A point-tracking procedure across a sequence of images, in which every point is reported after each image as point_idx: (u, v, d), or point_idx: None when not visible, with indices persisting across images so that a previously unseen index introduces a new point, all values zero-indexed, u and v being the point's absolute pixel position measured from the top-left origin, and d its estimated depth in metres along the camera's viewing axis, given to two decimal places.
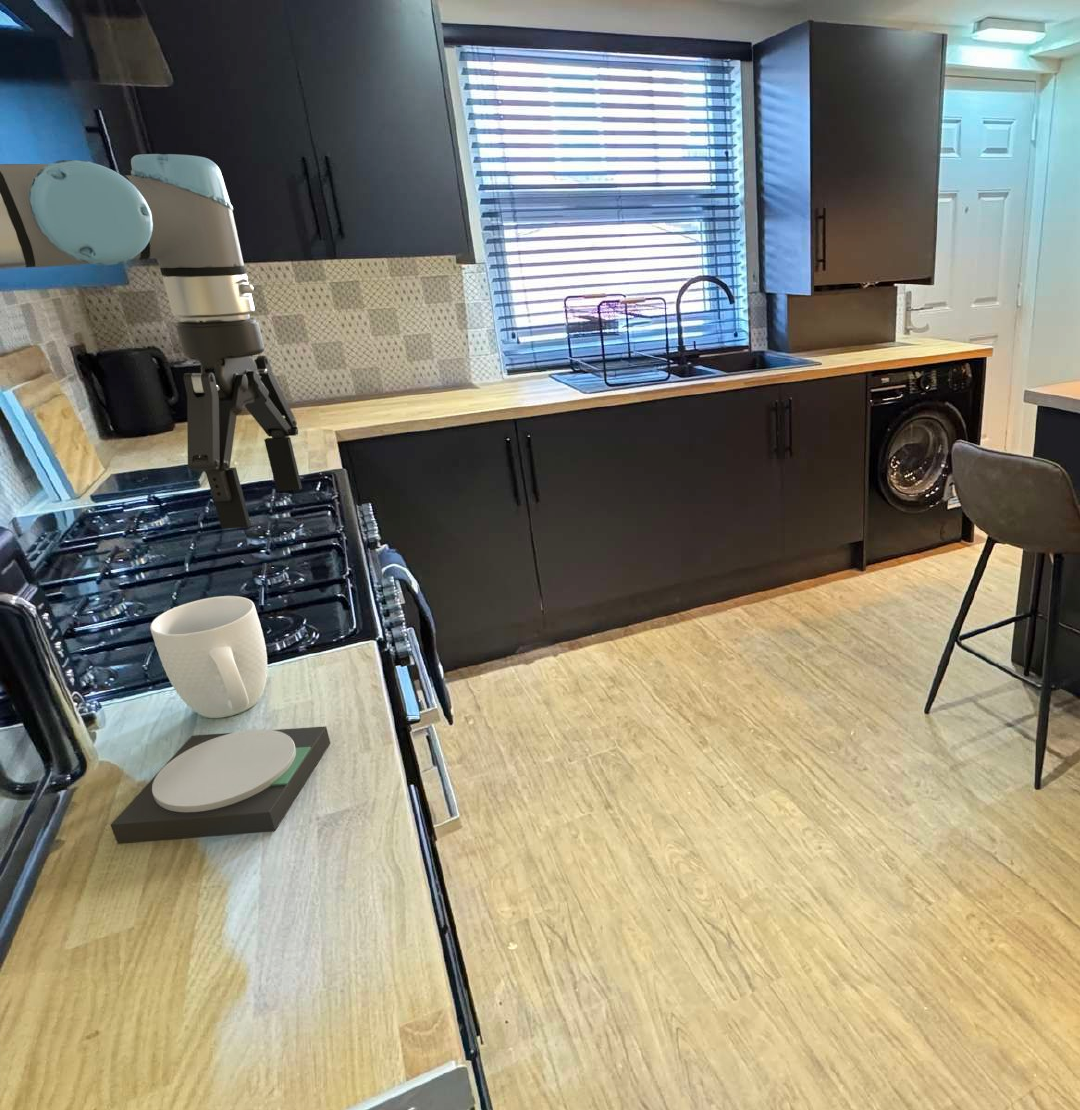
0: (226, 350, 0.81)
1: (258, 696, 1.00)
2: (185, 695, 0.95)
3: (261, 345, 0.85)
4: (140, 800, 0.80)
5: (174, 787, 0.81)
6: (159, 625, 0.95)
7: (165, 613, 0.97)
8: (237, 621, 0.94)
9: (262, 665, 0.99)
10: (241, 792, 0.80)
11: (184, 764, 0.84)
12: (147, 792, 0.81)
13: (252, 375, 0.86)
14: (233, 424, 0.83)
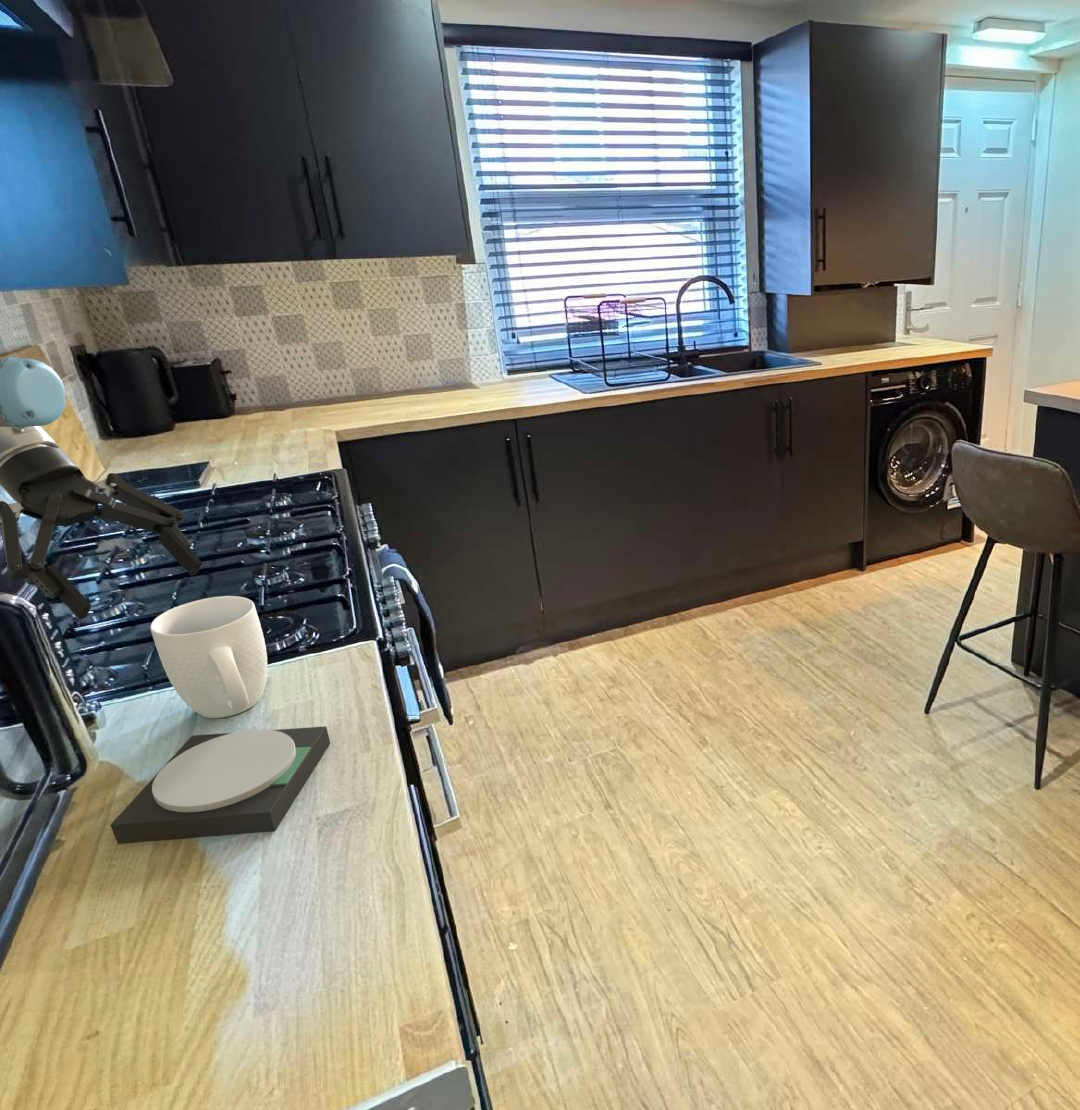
0: (17, 479, 0.94)
1: (258, 696, 1.00)
2: (185, 695, 0.95)
3: (53, 462, 0.96)
4: (140, 800, 0.80)
5: (174, 787, 0.81)
6: (159, 625, 0.95)
7: (165, 613, 0.97)
8: (237, 621, 0.94)
9: (262, 665, 0.99)
10: (241, 792, 0.80)
11: (184, 764, 0.84)
12: (147, 792, 0.81)
13: (73, 490, 0.97)
14: (48, 532, 0.93)
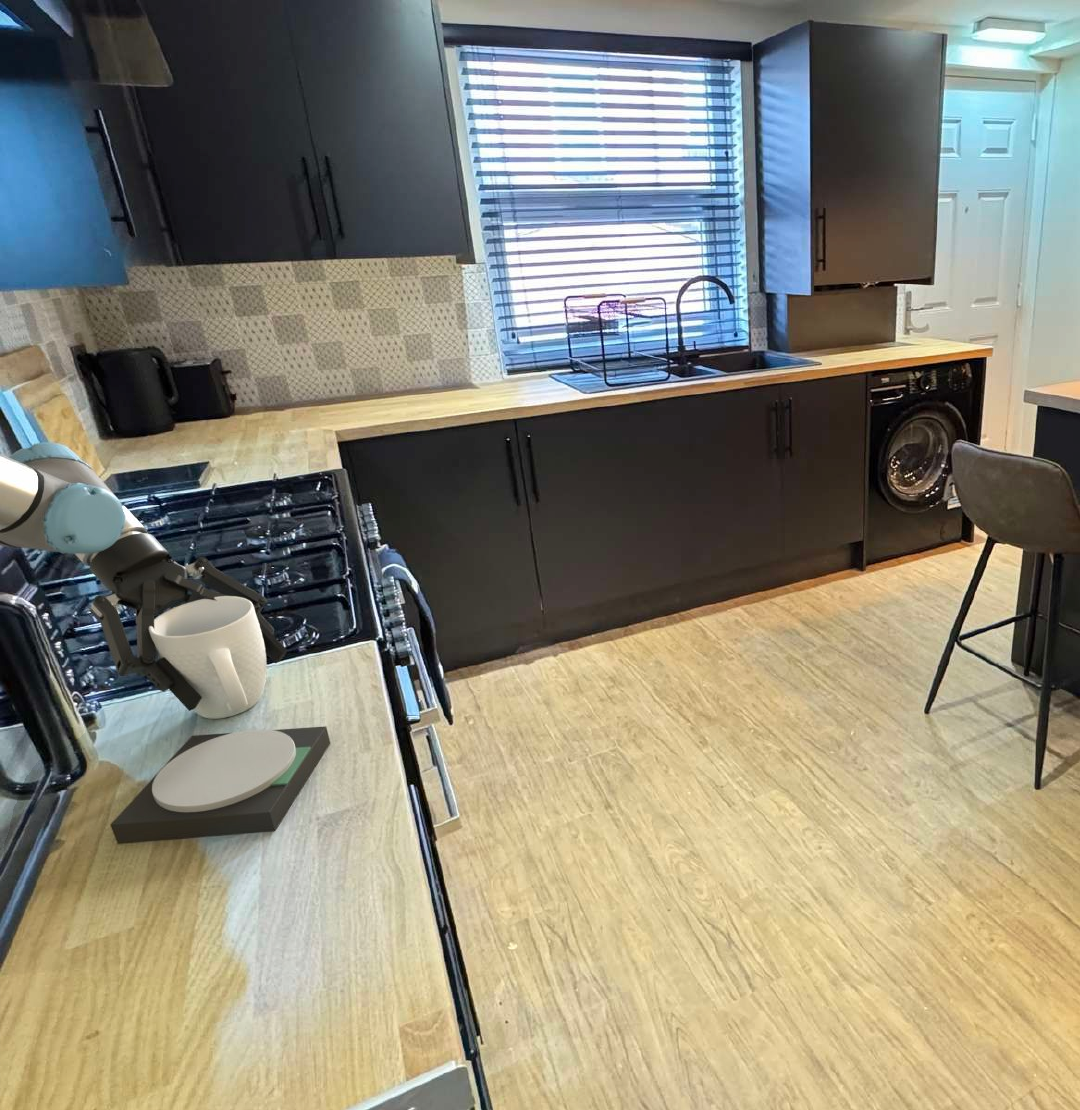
0: (111, 569, 0.93)
1: (257, 697, 1.00)
2: None
3: (146, 550, 0.95)
4: (140, 800, 0.80)
5: (174, 787, 0.81)
6: (158, 626, 0.95)
7: (164, 614, 0.96)
8: (235, 623, 0.94)
9: (261, 666, 0.99)
10: (241, 792, 0.80)
11: (184, 764, 0.84)
12: (147, 792, 0.81)
13: (164, 576, 0.97)
14: (150, 623, 0.93)
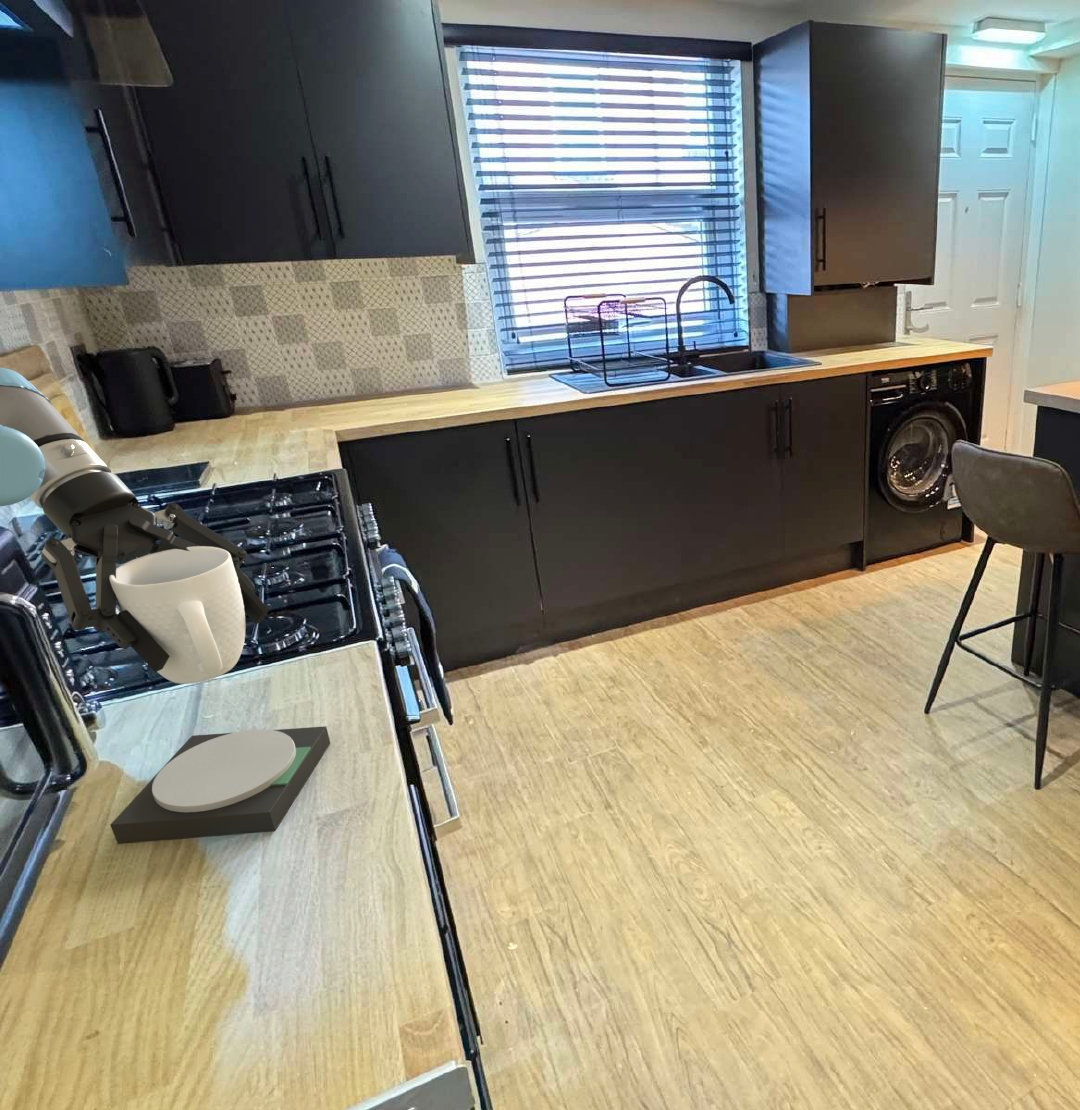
0: (67, 510, 0.82)
1: (234, 660, 0.88)
2: None
3: (109, 489, 0.84)
4: (140, 800, 0.80)
5: (174, 787, 0.81)
6: (121, 575, 0.83)
7: (128, 563, 0.85)
8: (210, 572, 0.82)
9: (239, 625, 0.87)
10: (241, 792, 0.80)
11: (184, 764, 0.84)
12: (147, 792, 0.81)
13: (129, 521, 0.85)
14: (111, 571, 0.82)
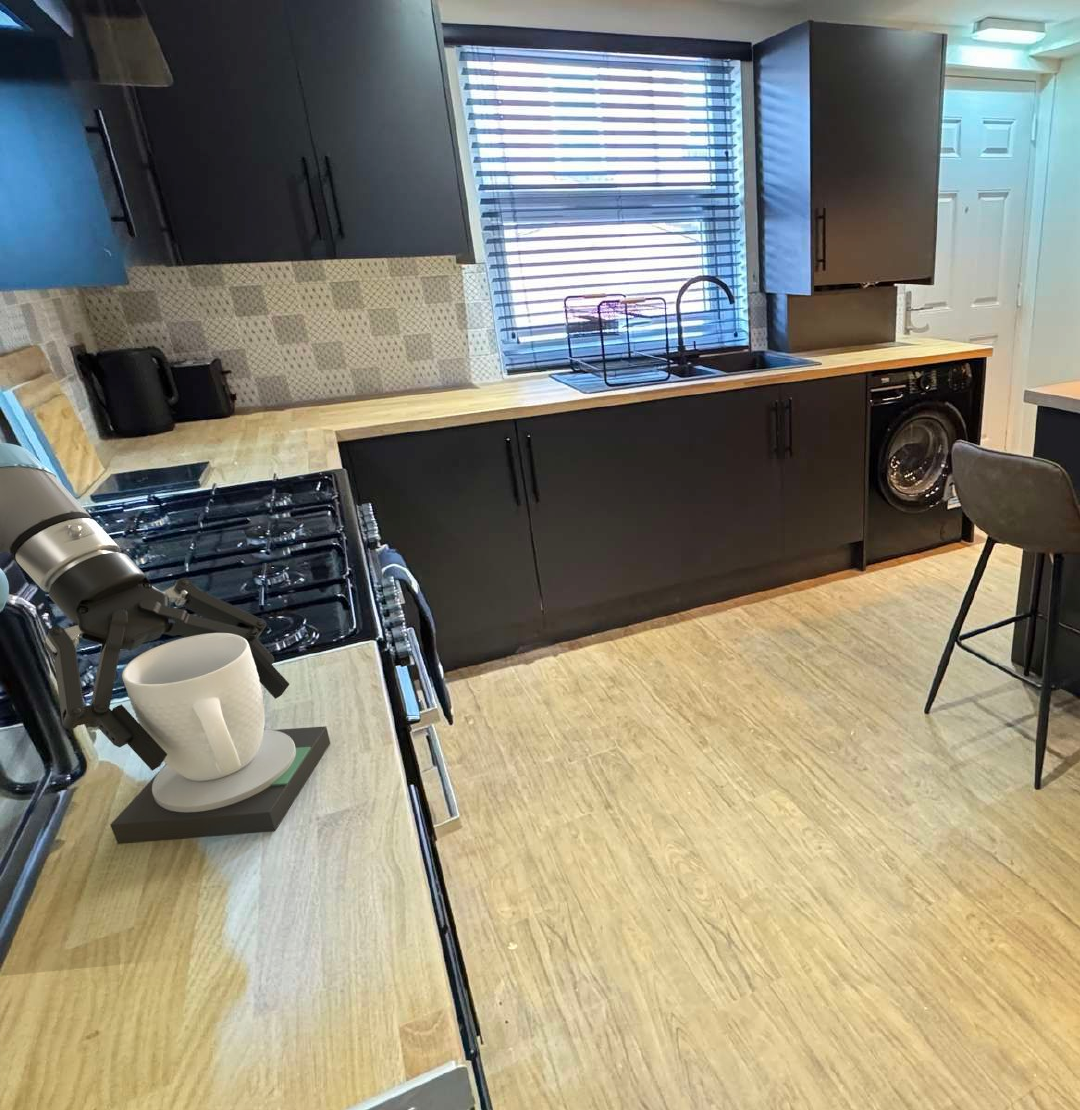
0: (74, 597, 0.77)
1: (253, 753, 0.84)
2: None
3: (118, 573, 0.79)
4: (140, 800, 0.80)
5: (174, 787, 0.81)
6: (134, 670, 0.79)
7: (142, 655, 0.80)
8: (227, 667, 0.78)
9: (258, 717, 0.83)
10: (241, 792, 0.80)
11: None
12: (147, 792, 0.81)
13: (140, 605, 0.81)
14: (113, 662, 0.76)
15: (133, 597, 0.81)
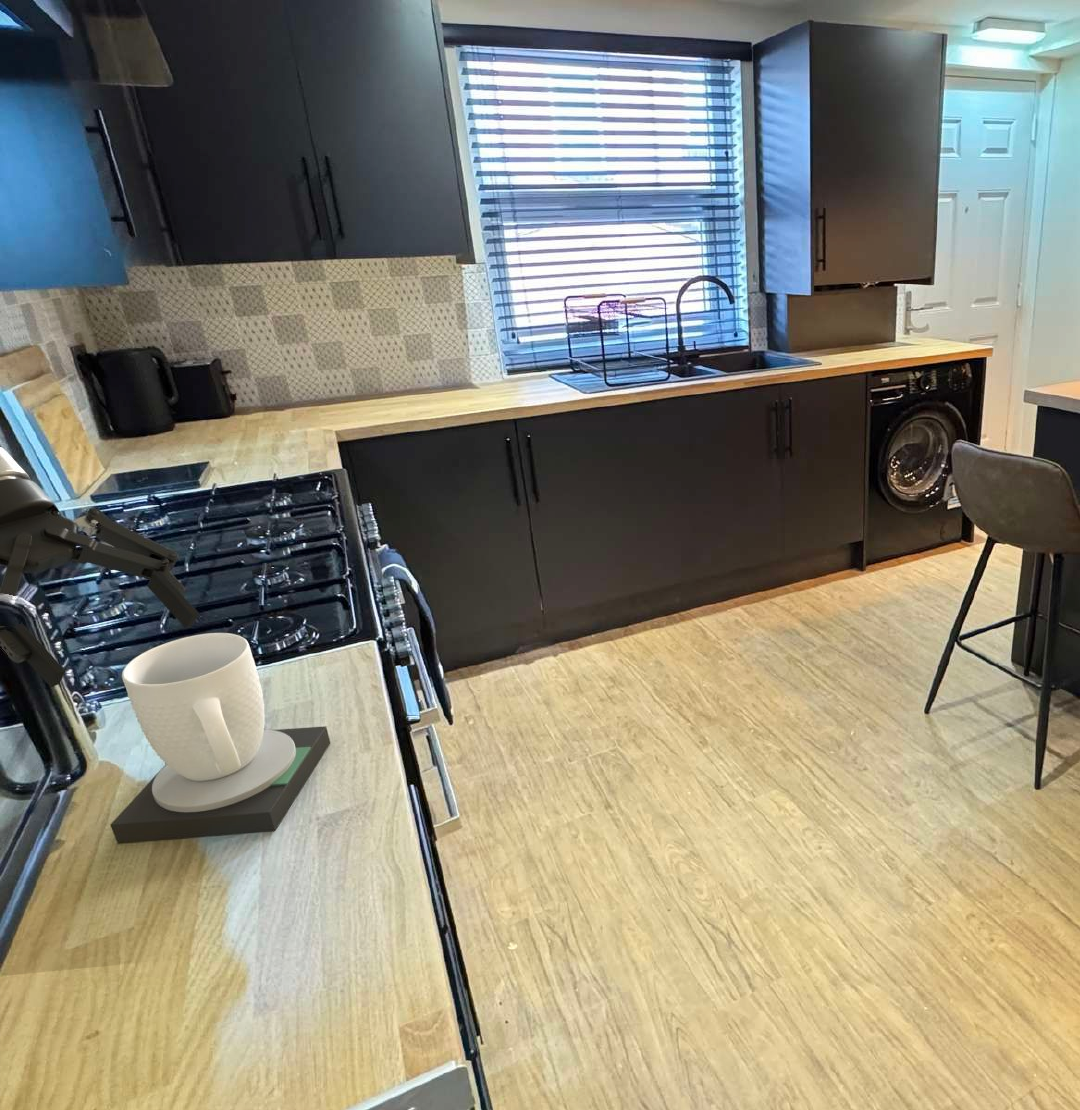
0: None
1: (253, 753, 0.84)
2: (164, 755, 0.78)
3: (23, 497, 0.81)
4: (140, 800, 0.80)
5: (174, 787, 0.81)
6: (134, 670, 0.79)
7: (142, 655, 0.80)
8: (227, 667, 0.78)
9: (258, 717, 0.83)
10: (241, 792, 0.80)
11: None
12: (147, 792, 0.81)
13: (46, 530, 0.82)
14: (14, 582, 0.78)
15: (40, 523, 0.83)
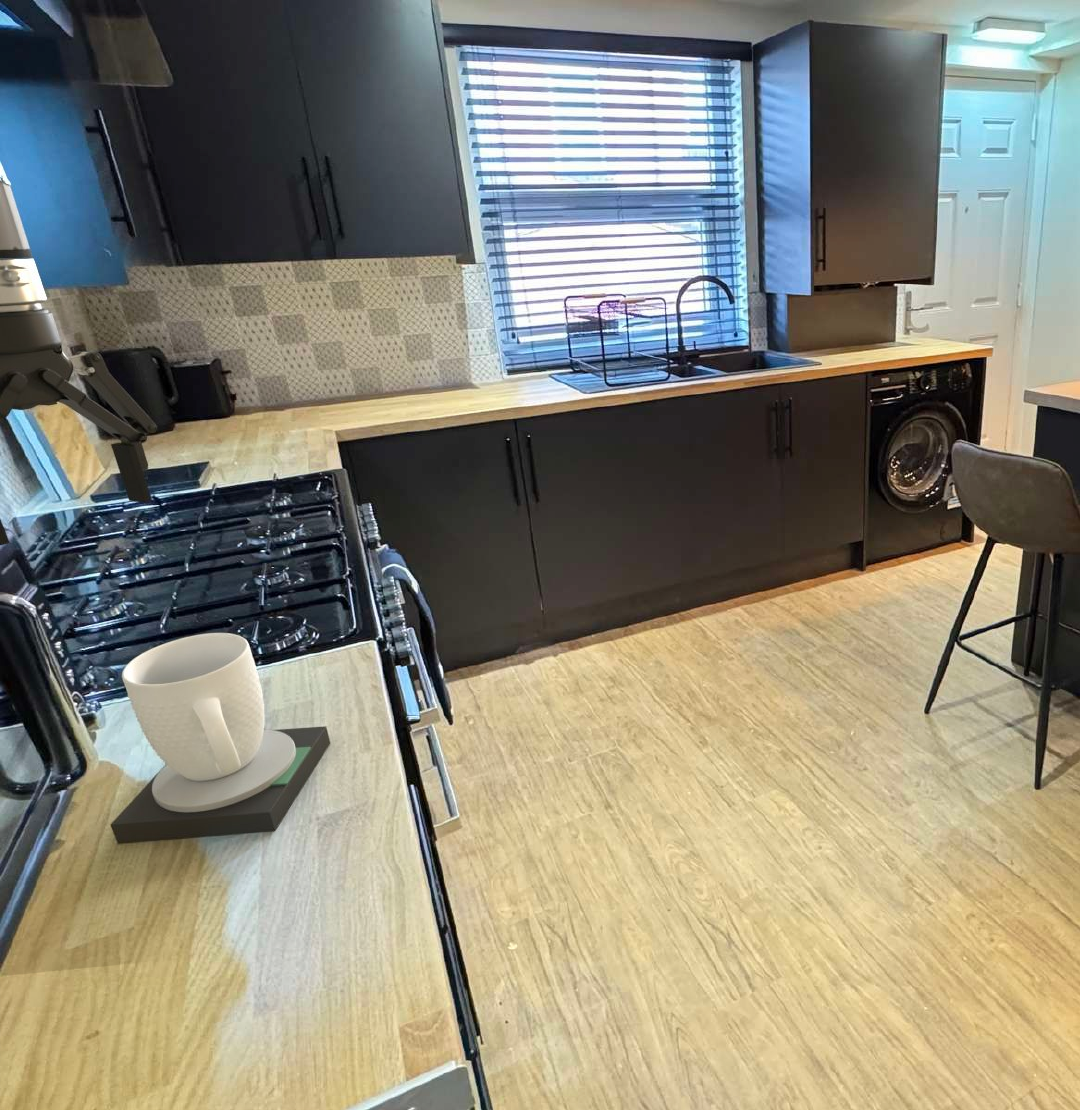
0: None
1: (253, 753, 0.84)
2: (164, 755, 0.78)
3: (38, 342, 0.74)
4: (140, 800, 0.80)
5: (174, 787, 0.81)
6: (134, 670, 0.79)
7: (142, 655, 0.80)
8: (227, 667, 0.78)
9: (258, 717, 0.83)
10: (241, 792, 0.80)
11: None
12: (147, 792, 0.81)
13: (43, 375, 0.76)
14: None
15: (38, 360, 0.76)
